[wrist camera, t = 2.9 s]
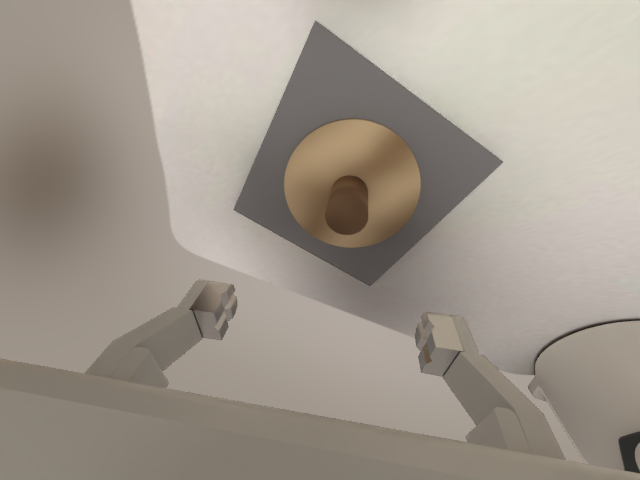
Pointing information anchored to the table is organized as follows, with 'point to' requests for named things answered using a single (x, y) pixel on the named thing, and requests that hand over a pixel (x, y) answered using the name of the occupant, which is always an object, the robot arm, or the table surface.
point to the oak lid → (352, 183)
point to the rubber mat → (371, 104)
